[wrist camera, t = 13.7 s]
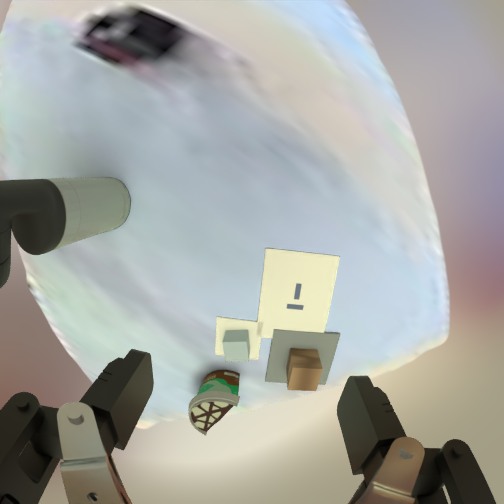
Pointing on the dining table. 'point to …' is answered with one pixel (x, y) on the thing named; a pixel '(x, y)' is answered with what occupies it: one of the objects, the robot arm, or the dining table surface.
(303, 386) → the block
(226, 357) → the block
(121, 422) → the robot arm
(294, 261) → the plaque
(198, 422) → the food container
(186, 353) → the dining table surface
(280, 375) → the mat
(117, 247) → the dining table surface
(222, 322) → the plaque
